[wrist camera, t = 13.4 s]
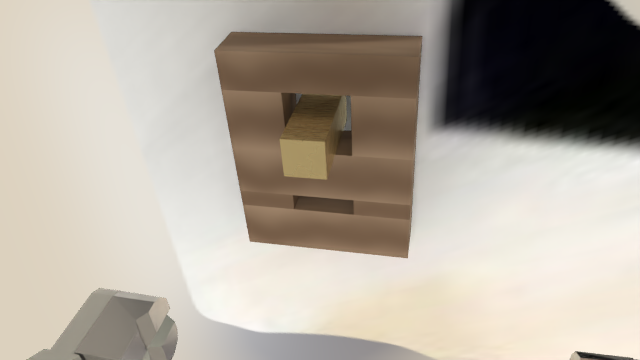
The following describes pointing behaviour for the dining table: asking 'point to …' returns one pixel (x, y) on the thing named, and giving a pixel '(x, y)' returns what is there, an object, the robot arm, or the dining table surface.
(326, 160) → the square bit
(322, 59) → the wooden slotted board
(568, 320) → the dining table surface
